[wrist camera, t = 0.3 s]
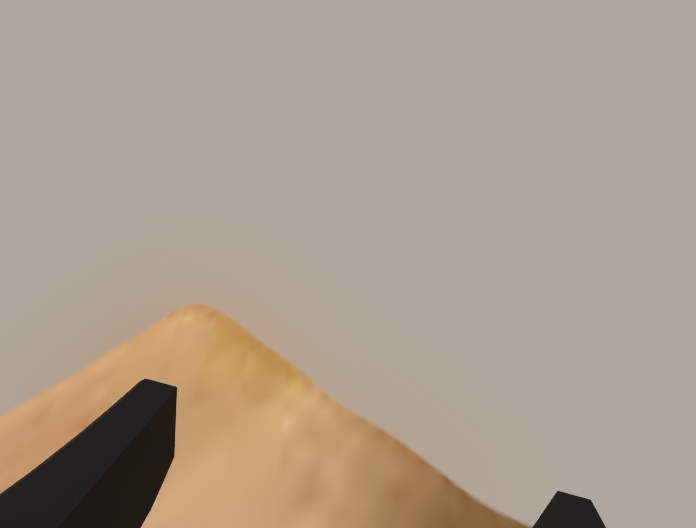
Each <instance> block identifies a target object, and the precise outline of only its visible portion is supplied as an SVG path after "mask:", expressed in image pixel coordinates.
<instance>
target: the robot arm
mask: <svg viewBox="0 0 696 528" xmlns="http://www.w3.org/2000/svg"><path fill="white" fill-rule="evenodd" d="M176 398H177V387H175V386H171V385H167V384H164V383H160V382H156V381H153V380H149V379H144V380H142V381H140V382H139V383H137V384H136V385H135V386H134V387H133V388H132V389H131V390H130V391H129V392H127V393H126V394H125V395H124V396H123V397H122V398H121V399H119V400H118V401H117V402H116V403H115V404H114V405H113V406H111V407H110V408H109V409H108V410H107V411H106V412H104V413H103V414H102V415H101V416H100V417H99V418H97V419H96V420H95V421H94V422H93V423H91V424H90V425H89V426H88V427H87V428H85V429H84V430H83V431H82V432H81V433H79V434H78V435H77V436H76V437H74V438H73V439H72V440H71V441H69V442H68V443H67V444H66V445H64V446H63V447H62V448H60V449H59V450H58V451H57V452H55V453H54V454H53V455H52V456H50V457H49V458H48V459H47V460H45V461H44V462H43V463H42V464H40V465H39V466H38V467H36V468H35V469H34V470H32V471H31V472H30V473H28V474H27V475H26V476H24V477H23V478H22V479H20V480H19V481H17V482H16V483H15V484H13V485H12V486H11V487H9V488H8V489H6V490H5V491H4V492H2V493H1V494H0V528H141V526H142V524H143V522H144V521H145V519H146V517H147V515H148V514H149V512H150V510H151V508H152V506H153V504H154V501H155V499H156V497H157V495H158V492H159V490H160V488H161V486H162V484H163V481H164V479H165V477H166V474H167V472H168V470H169V467H170V465H171V463H172V460H173V458H174V449H175V424H176ZM533 528H606V527H605V525H604V523H603V522H602V520H601V518H600V516H599V514H598V512H597V510H596V509H595V507H594V505H593V503H592V501H591V500H589V499H586V498H582V497H578V496H574V495H571V494H567V493H564V492H560V491H557V493H556V494H555V495H554V497H553V498H552V500H551V501H550V503H549V504H548V506H547V507H546V509H545V510H544V512H543V513H542V514H541V516H540V517H539V519H538V520H537V522H536V523H535V525H534V526H533Z"/></svg>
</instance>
